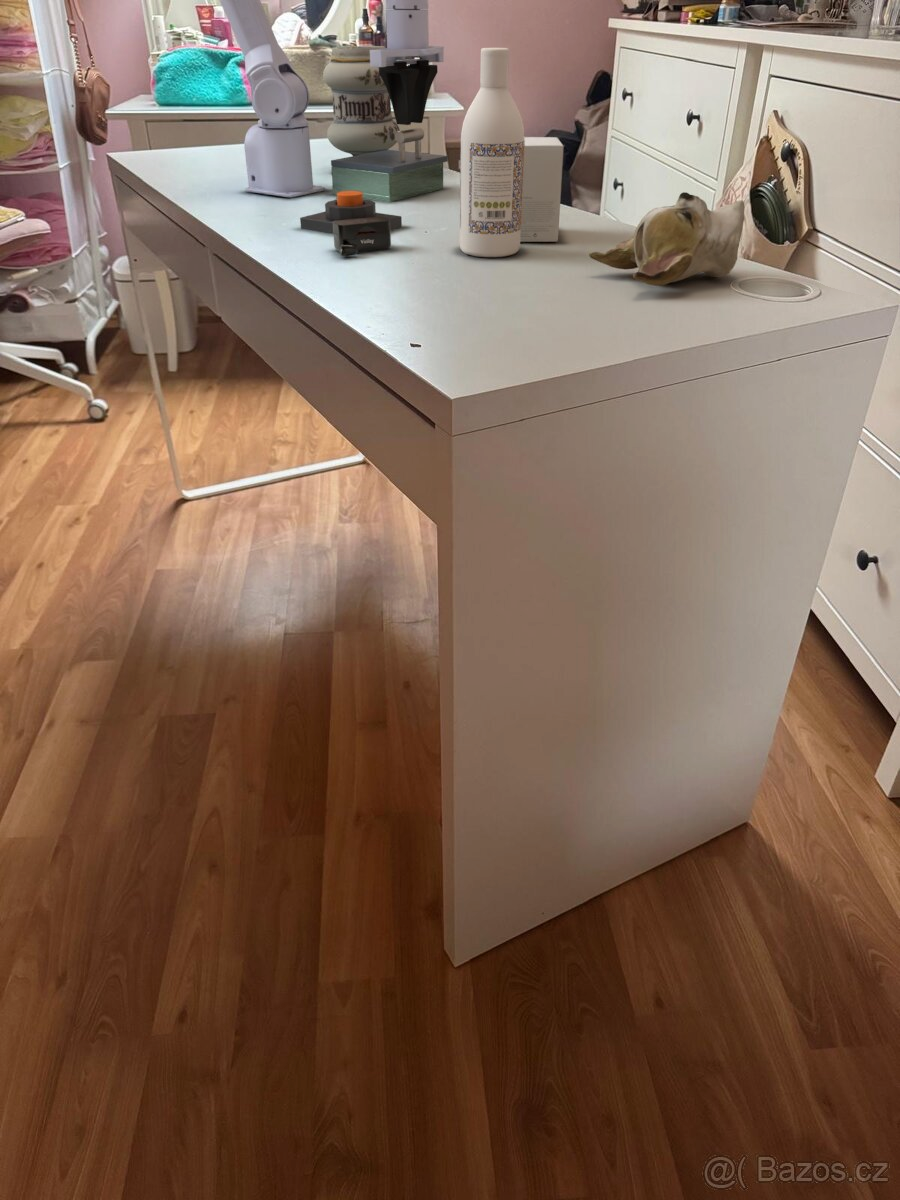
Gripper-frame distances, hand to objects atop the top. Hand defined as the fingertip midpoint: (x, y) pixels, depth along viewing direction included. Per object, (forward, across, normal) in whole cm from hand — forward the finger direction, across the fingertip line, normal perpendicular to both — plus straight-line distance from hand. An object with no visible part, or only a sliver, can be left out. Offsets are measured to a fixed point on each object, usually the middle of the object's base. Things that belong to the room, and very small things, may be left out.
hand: (409, 123), depth 128 cm
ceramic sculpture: (+10, -24, -51) cm, 58 cm away
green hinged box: (+9, 0, +4) cm, 10 cm away
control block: (+9, -24, -8) cm, 27 cm away
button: (+7, -24, -8) cm, 26 cm away
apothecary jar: (+10, +13, +19) cm, 25 cm away
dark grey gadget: (+10, -33, -17) cm, 38 cm away
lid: (+6, 0, +4) cm, 7 cm away
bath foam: (+10, -24, -29) cm, 39 cm away
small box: (+10, -14, -29) cm, 34 cm away
